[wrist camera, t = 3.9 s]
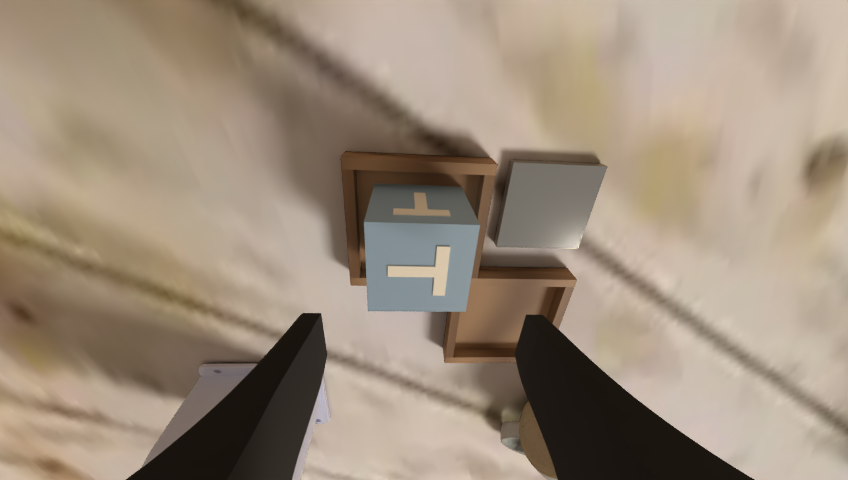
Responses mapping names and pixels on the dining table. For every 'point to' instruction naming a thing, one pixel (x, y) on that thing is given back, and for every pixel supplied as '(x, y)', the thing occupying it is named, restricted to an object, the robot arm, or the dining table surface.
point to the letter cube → (419, 248)
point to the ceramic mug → (528, 442)
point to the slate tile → (547, 203)
